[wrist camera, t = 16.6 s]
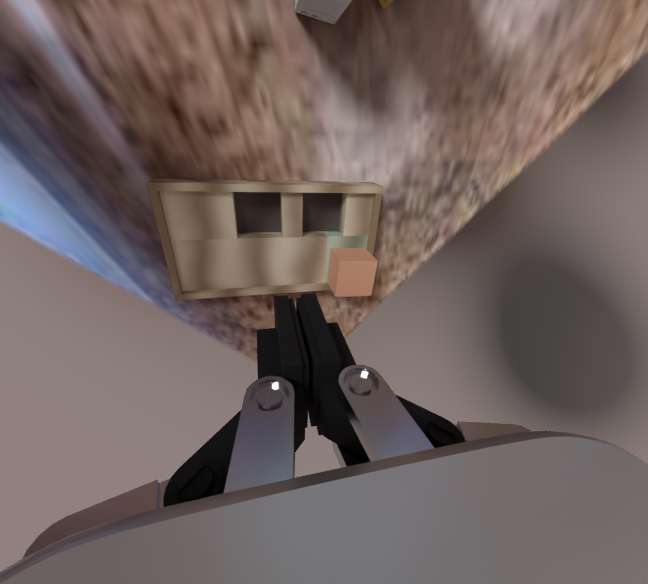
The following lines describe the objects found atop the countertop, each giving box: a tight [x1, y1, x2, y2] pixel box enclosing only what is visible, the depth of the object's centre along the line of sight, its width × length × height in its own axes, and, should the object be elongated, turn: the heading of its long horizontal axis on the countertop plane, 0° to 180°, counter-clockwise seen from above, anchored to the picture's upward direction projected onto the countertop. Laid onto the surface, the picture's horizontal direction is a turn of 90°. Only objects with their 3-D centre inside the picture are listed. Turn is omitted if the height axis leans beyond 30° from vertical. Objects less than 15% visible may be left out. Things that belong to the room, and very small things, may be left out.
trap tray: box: [147, 178, 383, 300], centre depth 36 cm, size 26×14×3 cm, turn 87°
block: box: [327, 248, 378, 297], centre depth 37 cm, size 5×5×4 cm
